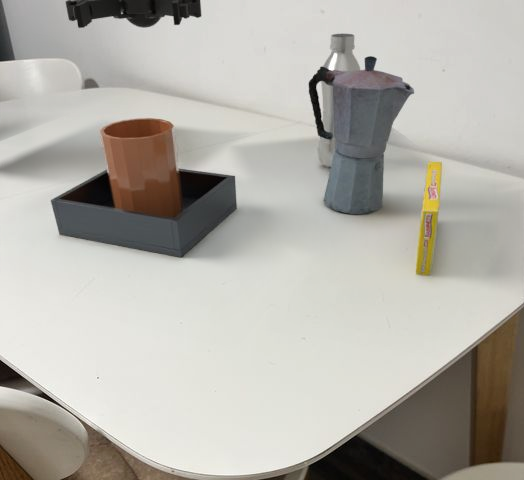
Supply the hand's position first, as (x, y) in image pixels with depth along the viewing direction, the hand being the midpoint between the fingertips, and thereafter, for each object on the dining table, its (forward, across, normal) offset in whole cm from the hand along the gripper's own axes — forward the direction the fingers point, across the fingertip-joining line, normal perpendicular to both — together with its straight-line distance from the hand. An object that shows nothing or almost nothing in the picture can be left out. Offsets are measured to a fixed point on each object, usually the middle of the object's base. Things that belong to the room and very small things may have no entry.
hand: (127, 15), depth 80 cm
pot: (+16, -2, -23) cm, 28 cm away
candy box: (+28, -38, -24) cm, 53 cm away
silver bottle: (-4, -32, -24) cm, 40 cm away
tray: (+16, -2, -24) cm, 29 cm away
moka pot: (+13, -31, -24) cm, 41 cm away
